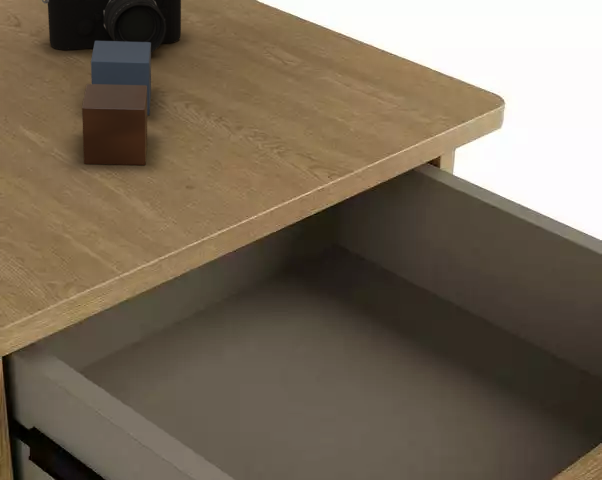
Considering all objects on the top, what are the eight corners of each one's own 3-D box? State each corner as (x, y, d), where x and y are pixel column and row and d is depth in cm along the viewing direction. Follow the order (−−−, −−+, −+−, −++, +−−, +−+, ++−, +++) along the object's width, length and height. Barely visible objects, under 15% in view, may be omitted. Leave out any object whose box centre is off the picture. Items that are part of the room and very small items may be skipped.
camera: (53, 66, 124) (49, -16, 119) (41, 39, 129) (36, -40, 125) (198, 56, 128) (199, -24, 124) (180, 30, 134) (181, -46, 129)
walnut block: (84, 164, 106) (81, 107, 104) (88, 138, 110) (86, 83, 108) (145, 165, 107) (144, 109, 104) (147, 139, 111) (147, 84, 108)
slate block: (92, 114, 115) (90, 61, 112) (96, 92, 119) (94, 40, 116) (149, 115, 115) (149, 62, 113) (151, 93, 119) (150, 42, 117)
